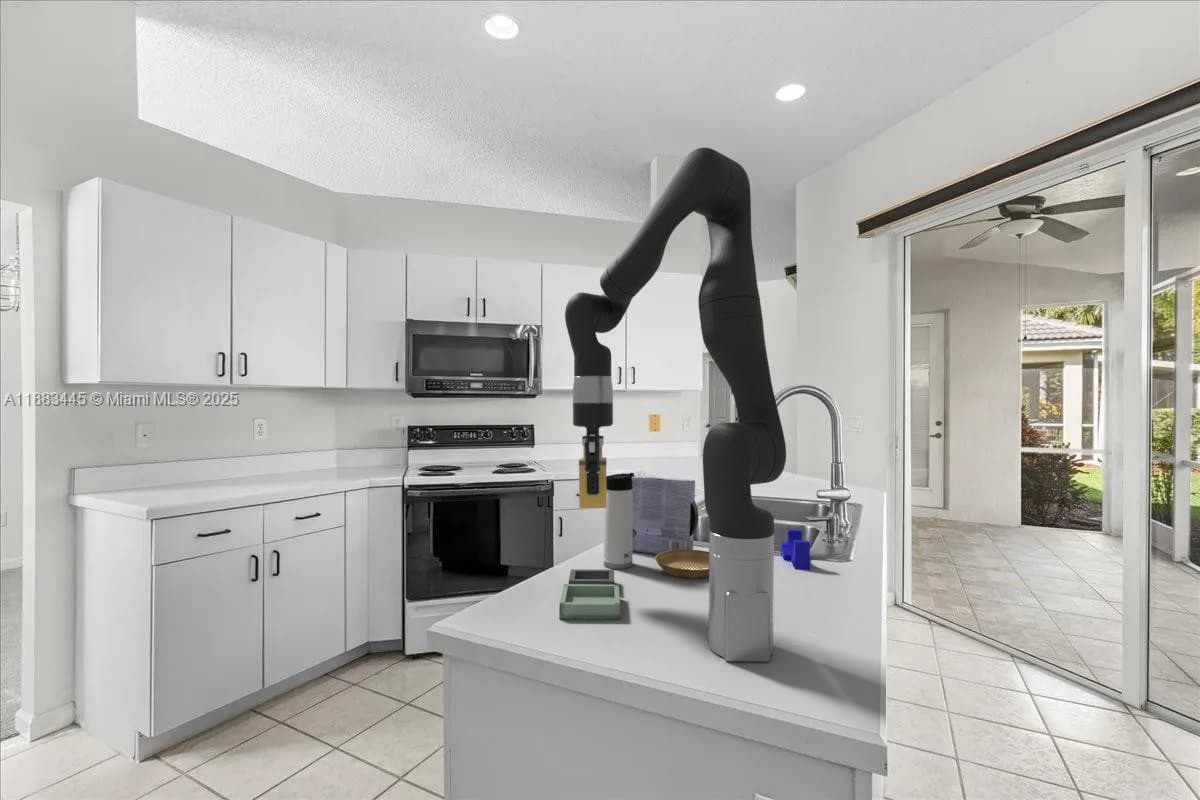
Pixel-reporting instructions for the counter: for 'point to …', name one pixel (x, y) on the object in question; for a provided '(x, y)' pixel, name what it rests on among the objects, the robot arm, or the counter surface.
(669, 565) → the plant saucer
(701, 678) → the counter surface
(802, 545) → the cable clip
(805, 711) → the counter surface
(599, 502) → the block
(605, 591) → the parts tray
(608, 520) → the travel mug
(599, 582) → the frame
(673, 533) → the cake pan box
